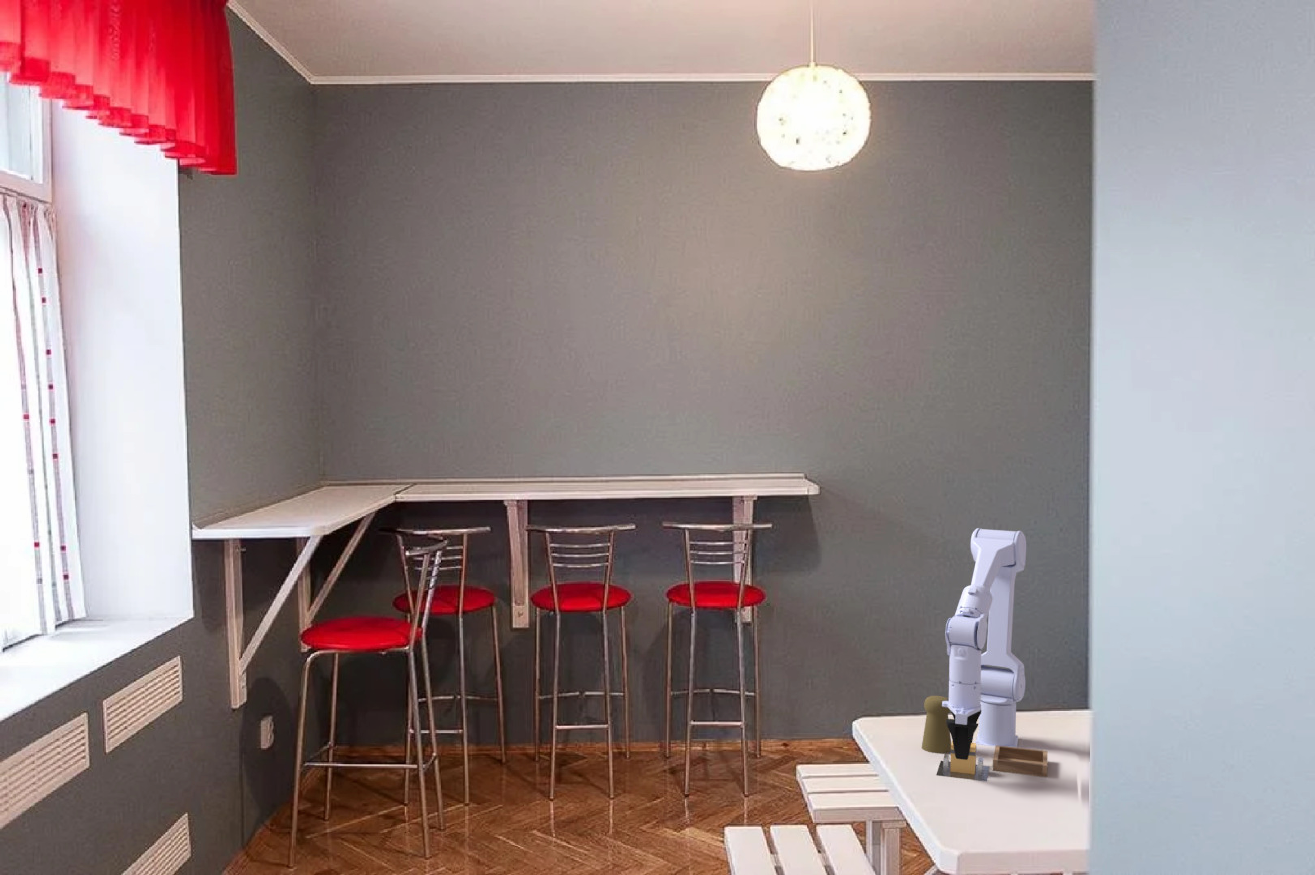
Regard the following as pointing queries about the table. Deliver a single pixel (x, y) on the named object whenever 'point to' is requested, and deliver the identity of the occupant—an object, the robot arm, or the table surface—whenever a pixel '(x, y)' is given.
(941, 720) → the cork
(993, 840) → the table surface
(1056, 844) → the table surface
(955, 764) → the block
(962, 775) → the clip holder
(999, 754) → the tray
